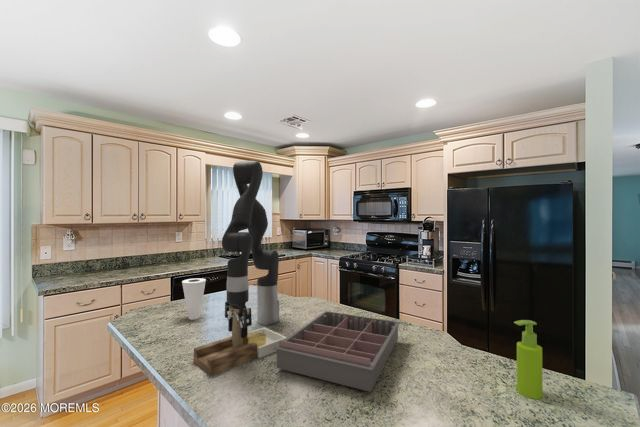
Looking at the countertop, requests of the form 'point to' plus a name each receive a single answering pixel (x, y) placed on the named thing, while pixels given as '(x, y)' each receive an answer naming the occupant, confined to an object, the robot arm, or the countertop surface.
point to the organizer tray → (340, 349)
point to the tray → (269, 341)
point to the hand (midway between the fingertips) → (237, 334)
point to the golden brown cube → (260, 339)
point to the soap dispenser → (529, 362)
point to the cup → (193, 296)
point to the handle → (236, 329)
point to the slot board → (223, 355)
